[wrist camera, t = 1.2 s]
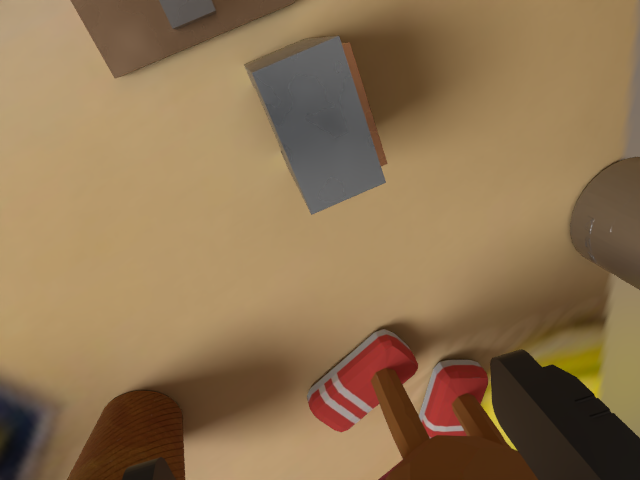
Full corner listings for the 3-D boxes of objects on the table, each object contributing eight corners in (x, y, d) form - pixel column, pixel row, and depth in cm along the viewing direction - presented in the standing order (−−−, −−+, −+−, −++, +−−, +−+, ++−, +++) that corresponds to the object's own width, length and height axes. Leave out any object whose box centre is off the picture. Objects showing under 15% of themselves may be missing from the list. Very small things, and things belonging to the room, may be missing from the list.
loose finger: (350, 141, 30) (397, 177, 21) (288, 168, 29) (311, 214, 21) (313, 35, 26) (351, 30, 18) (244, 64, 26) (251, 72, 18)
